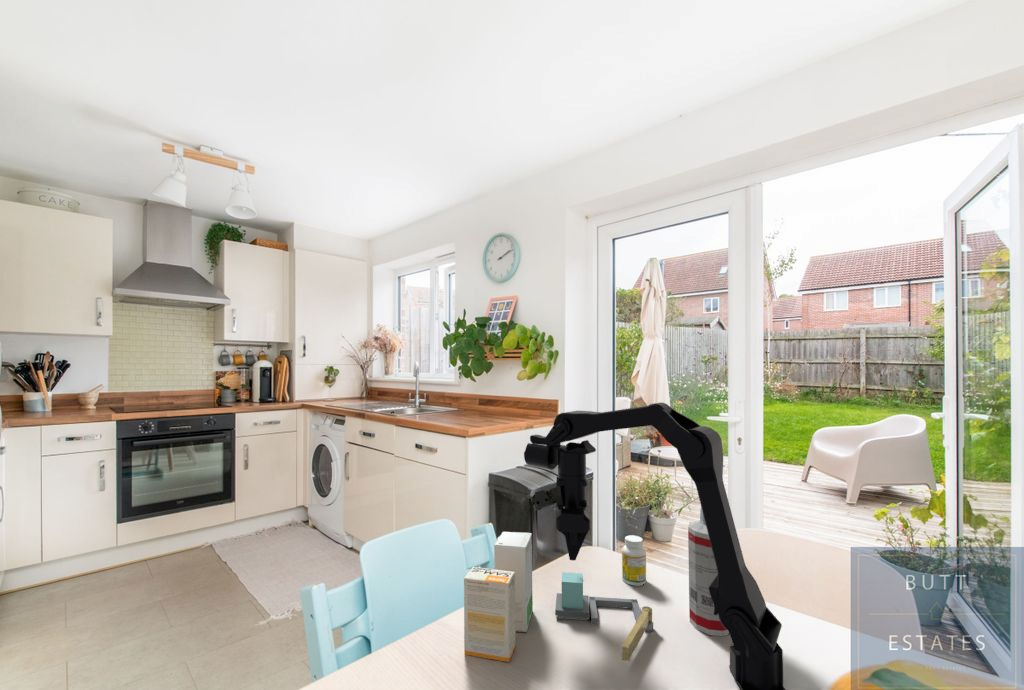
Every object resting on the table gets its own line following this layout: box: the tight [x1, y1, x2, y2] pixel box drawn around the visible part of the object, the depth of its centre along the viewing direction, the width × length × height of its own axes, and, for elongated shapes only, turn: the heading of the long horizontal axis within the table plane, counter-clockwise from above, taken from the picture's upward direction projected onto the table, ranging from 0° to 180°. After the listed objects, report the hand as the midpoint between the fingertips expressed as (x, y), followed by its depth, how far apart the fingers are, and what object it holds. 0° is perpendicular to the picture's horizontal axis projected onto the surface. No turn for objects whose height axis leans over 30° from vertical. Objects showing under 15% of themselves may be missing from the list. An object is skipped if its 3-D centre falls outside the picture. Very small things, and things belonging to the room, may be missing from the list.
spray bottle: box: [687, 507, 730, 637], centre depth 87 cm, size 8×8×25 cm
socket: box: [589, 596, 654, 633], centre depth 89 cm, size 12×9×1 cm
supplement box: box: [463, 566, 517, 663], centre depth 78 cm, size 8×5×13 cm, turn 74°
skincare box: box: [493, 531, 534, 633], centre depth 88 cm, size 8×7×16 cm
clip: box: [621, 605, 653, 663], centre depth 79 cm, size 14×2×2 cm, turn 148°
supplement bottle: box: [621, 534, 647, 587], centre depth 104 cm, size 5×5×10 cm
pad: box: [556, 615, 589, 621], centre depth 91 cm, size 6×6×1 cm
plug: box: [554, 571, 590, 619], centre depth 91 cm, size 7×7×6 cm
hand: (572, 550), depth 91 cm, fingers open, 9 cm apart
